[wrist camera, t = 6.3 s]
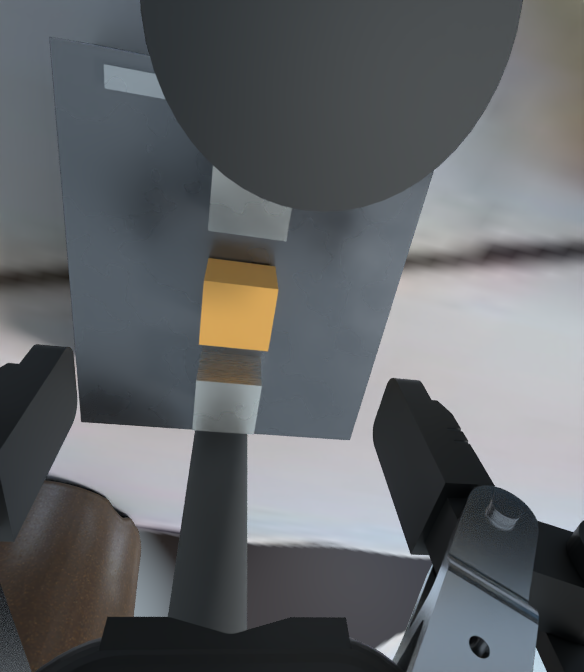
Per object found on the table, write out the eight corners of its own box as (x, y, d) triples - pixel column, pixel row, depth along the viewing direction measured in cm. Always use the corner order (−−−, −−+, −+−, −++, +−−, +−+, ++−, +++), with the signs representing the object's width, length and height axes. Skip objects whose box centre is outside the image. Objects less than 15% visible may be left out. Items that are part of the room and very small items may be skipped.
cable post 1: (278, 351, 23) (322, 765, 9) (254, 481, 28) (261, 882, 14) (178, 342, 22) (68, 777, 9) (171, 477, 27) (93, 898, 13)
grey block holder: (411, 106, 18) (478, 121, 13) (335, 388, 25) (358, 472, 19) (92, 44, 16) (17, 31, 11) (106, 368, 23) (65, 456, 18)
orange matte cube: (275, 266, 16) (278, 289, 15) (266, 323, 17) (268, 351, 16) (208, 258, 16) (203, 280, 14) (203, 317, 17) (198, 344, 15)
